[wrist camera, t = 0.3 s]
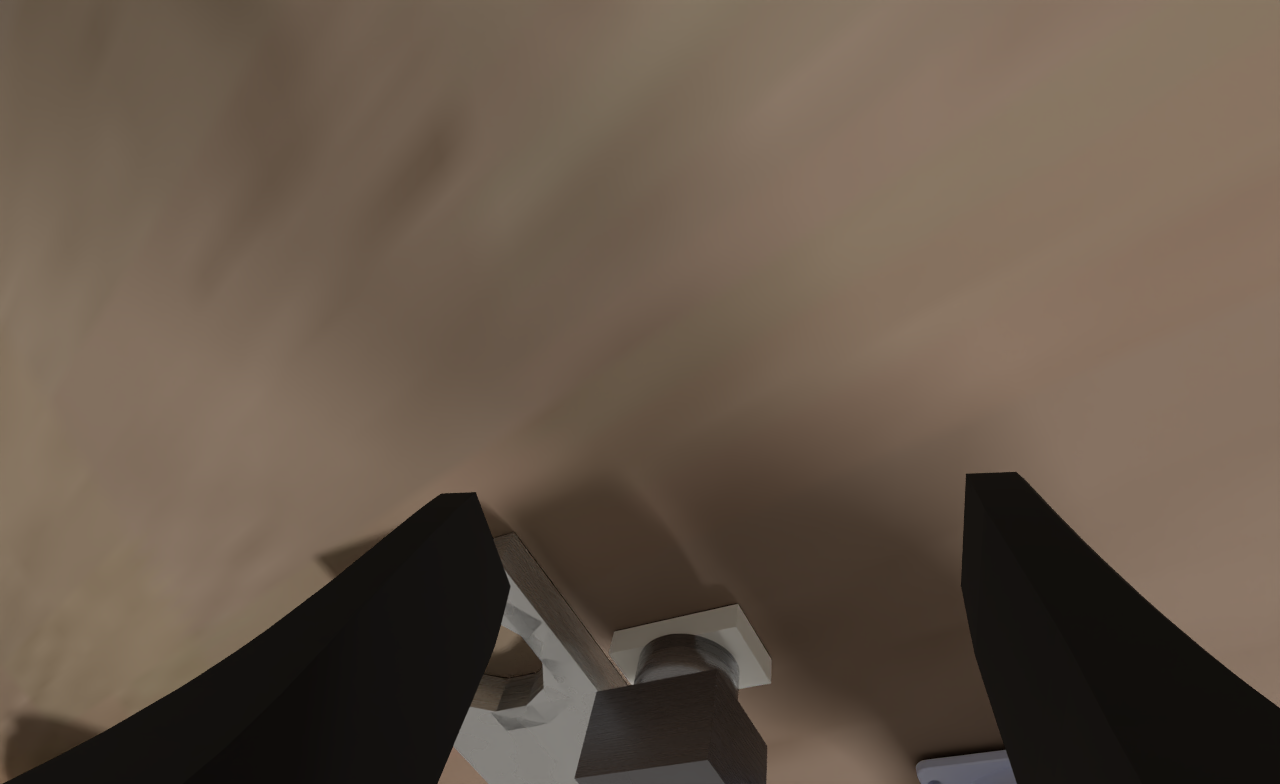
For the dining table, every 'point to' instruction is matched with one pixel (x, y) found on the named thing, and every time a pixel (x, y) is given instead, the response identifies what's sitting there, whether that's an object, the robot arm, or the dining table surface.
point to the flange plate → (536, 686)
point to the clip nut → (674, 721)
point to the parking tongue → (713, 624)
